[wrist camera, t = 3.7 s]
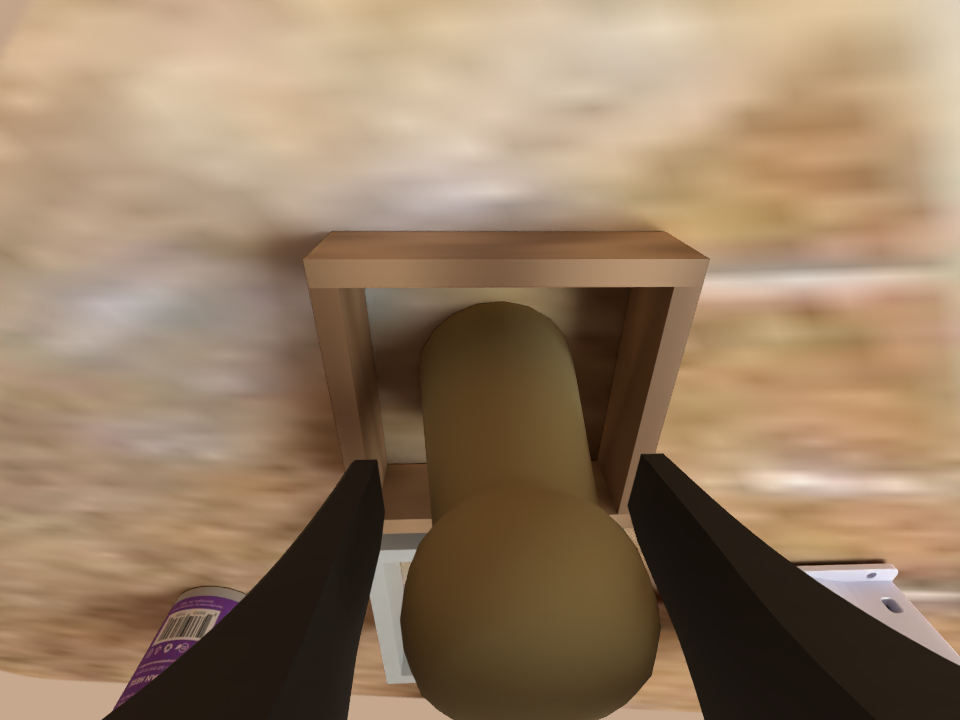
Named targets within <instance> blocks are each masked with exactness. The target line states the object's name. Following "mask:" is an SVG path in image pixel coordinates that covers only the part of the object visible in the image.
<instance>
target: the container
mask: <svg viewBox="0 0 960 720" xmlns="http://www.w3.org/2000/svg"><path fill="white" fill-rule="evenodd" d="M245 596H246V595H245V594H243V593H241V592H238V591H235V590H232V589H228V588H222V587H199V588H195V589H191V590H188V591H186V592H184V593H183V594H182V595H180V596H179V597H178V599H177V600H176V602H175V604H174V606H173V607H172V609H171V610H170V612H169V614H168V616H167V617H166V619H165V621H164V622H163V624H162V626H161V628H160V629H159V631H158V633H157V635H156V636H155V638H154V640H153V642H152V643H151V645H150V647H149V648H148V650H147V652H146V654H145V655H144V657H143V659H142V661H141V662H140V664H139V666H138V667H137V669H136V671H135V673H134V674H133V676H132V678H131V680H130V681H129V683H128V685H127V687H126V688H125V690H124V692H123V694H122V695H121V697H120V699H119V700H118V702H117V704H116V706H115V707H114V709H113V711H114V710H115V709H116V708H117V707H119V706H120V705H121V704H123V703H124V702H125V701H126V700H128V699H129V698H130V697H132V696H133V695H134V694H135V693H137V692H138V691H139V690H141V689H142V688H143V687H144V686H146V685H147V684H148V683H149V682H151V681H152V680H153V679H154V678H156V677H157V676H158V675H159V674H160V673H162V672H163V671H164V670H165V669H166V668H167V667H168V666H170V665H171V664H172V663H173V662H174V661H175V660H177V659H178V658H179V657H180V656H181V655H182V654H184V653H185V652H186V651H187V650H188V649H189V648H190V647H192V646H193V645H194V644H195V643H196V642H197V641H199V640H200V639H201V638H202V637H203V636H204V635H205V634H206V633H208V632H209V631H210V630H211V629H212V628H213V627H214V626H215V625H216V624H217V623H218V622H219V621H220V620H222V619H223V618H224V617H225V616H226V615H227V614H228V613H229V612H230V611H231V610H232V609H233V608H234V607H235V606H236V605H237V604H238V603H239V602H240V601H241V600H242V599H243V598H244V597H245Z"/></svg>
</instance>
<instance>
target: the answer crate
mask: <svg viewBox="0 0 960 720" xmlns="http://www.w3.org/2000/svg"><path fill="white" fill-rule="evenodd" d="M623 530H624V528H623ZM426 534H427V533H399V534H382V542H381V549H380V554H379V558H378V562H377V567H376V571H375V575H374V580H373V584H372V588H371V592H370V600H371V605H372V610H373V615H374V620H375V625H376V630H377V635H378V640H379V645H380V650H381V655H382V660H383V665H384V670H385V675H386V680H387V684H398V683H416V681H415V679H414V677H413V675H412V673H411V670H410V668H409V665H408V662H407V659H406V656H405V653H404V650H403V642H402V634H401V626H400V615H401V607H402V600H403V593H404V588H403V581H402V573H401V565H400V562H412V560H413V557H414V555H415V552H416V550H417V547H418V545H419V543H420V542H421V541H422V539H423V538H424V537H425V535H426Z"/></svg>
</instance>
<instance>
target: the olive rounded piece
mask: <svg viewBox="0 0 960 720" xmlns="http://www.w3.org/2000/svg"><path fill="white" fill-rule="evenodd" d="M419 377H420V389H421V401H422V412H423V424H424V436H425V448H426V459H427V471H428V483H429V494H430V506H431V518H432V528H431V529H430V530H429V532H428V533H427V534H426V535H425V537H424V538H423V539H422V541H421V542H420V543H419V545H418V547H417V550H416V552H415V555H414V557H413V560H412V562H411V565H410V567H409V571H408V575H407V580H406V584H405V588H404V593H403V600H402V607H401V615H400V626H401V634H402V642H403V650H404V653H405V656H406V659H407V662H408V665H409V668H410V670H411V673H412V675H413V677H414V679H415V681H416V684H417V686H418V688H419V690H420V692H421V695H422V696H423V697H424V698H425V699H426V700H428V701H429V702H430V703H431V704H432V705H433V706H434V707H435V708H436V709H438V710H439V711H440V712H442V713H443V714H445V715H447V716H448V717H450V718H451V719H453V720H599V719H601V718H604V717H606V716H608V715H610V714H611V713H613V712H614V711H616V710H617V709H619V708H620V707H622V706H624V705H625V704H626V703H627V702H628V701H629V700H630V699H631V698H632V697H633V696H634V695H635V694H636V693H637V692H638V691H639V690H640V689H641V687H642V686H643V685H644V684H645V683H646V681H647V680H648V679H649V678H650V677H651V675H652V671H653V666H654V662H655V658H656V652H657V647H658V641H659V635H660V630H661V624H660V617H659V610H658V603H657V597H656V594H655V592H654V589H653V586H652V583H651V581H650V578H649V575H648V573H647V571H646V568H645V566H644V563H643V561H642V559H641V556H640V554H639V551H638V549H637V547H636V546H635V544H634V543H633V542H632V540H631V539H630V538H629V536H628V535H627V534H626V532H625V531H624V530H623V528H622V527H621V526H620V525H619V524H618V523H617V522H616V521H615V520H614V519H613V518H612V517H611V516H609V515H608V514H607V513H606V512H605V511H604V510H603V509H602V508H601V507H599V504H598V499H597V493H596V487H595V482H594V476H593V470H592V465H591V459H590V453H589V448H588V442H587V436H586V431H585V425H584V419H583V414H582V408H581V402H580V397H579V391H578V385H577V380H576V374H575V368H574V363H573V357H572V354H571V351H570V348H569V345H568V343H567V340H566V337H565V335H564V334H563V333H562V332H561V331H560V329H559V328H558V327H557V326H556V325H555V324H554V322H553V321H552V320H551V319H550V318H548V317H546V316H545V315H543V314H541V313H539V312H537V311H536V310H534V309H532V308H530V307H528V306H523V305H518V304H513V303H508V302H494V303H484V304H476V305H474V306H472V307H469V308H467V309H464V310H462V311H459V312H457V313H454V314H453V315H452V316H450V317H449V318H448V319H447V320H446V321H444V322H443V323H442V324H441V325H440V326H438V327H437V328H436V329H435V330H434V331H433V333H432V335H431V336H430V338H429V340H428V341H427V343H426V345H425V346H424V348H423V351H422V356H421V361H420V367H419Z"/></svg>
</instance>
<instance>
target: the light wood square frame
mask: <svg viewBox="0 0 960 720" xmlns="http://www.w3.org/2000/svg"><path fill="white" fill-rule="evenodd" d="M709 261H710V259H709V258H708V257H706V256H704V255H703V254H701V253H699V252H698V251H696V250H695V249H693V248H691V247H690V246H688V245H686V244H685V243H683V242H681V241H680V240H678V239H677V238H675V237H673V236H672V235H670V234H668V233H667V232H460V231H332V232H331V233H330V234H329V235H328V236H327V237H326V238H324V239H323V240H322V241H321V242H320V243H319V244H318V245H317V246H316V247H315V248H314V249H313V250H312V251H311V252H310V253H309V254H308V255H307V256H306V257H305V258H304V259H303V263H304V268H305V273H306V278H307V283H308V288H309V293H310V298H311V303H312V308H313V313H314V318H315V323H316V328H317V333H318V339H319V344H320V349H321V354H322V359H323V364H324V369H325V374H326V379H327V384H328V389H329V394H330V399H331V404H332V409H333V414H334V419H335V424H336V429H337V434H338V439H339V444H340V449H341V454H342V459H343V464H344V469H345V472H346V470H347V469H348V467H349V465H350V464H351V463H352V462H353V461H354V460H372V459H377V460H378V467H379V474H380V481H381V487H382V494H383V501H384V508H385V517H384V525H383V534H399V533H428V532H429V530H430V529H431V528H432V518H431V506H430V494H429V483H428V471H427V464H390V465H387V458H386V451H385V443H384V435H383V428H382V420H381V412H380V405H379V397H378V389H377V382H376V374H375V366H374V359H373V351H372V344H371V336H370V328H369V321H368V313H367V305H366V298H365V290H364V288H484V287H631V290H630V295H629V301H628V306H627V311H626V316H625V321H624V326H623V331H622V336H621V341H620V347H619V352H618V357H617V362H616V367H615V372H614V377H613V382H612V387H611V393H610V398H609V403H608V408H607V413H606V418H605V423H604V428H603V433H602V438H601V444H600V449H599V454H598V459H597V461H591V465H592V470H593V476H594V482H595V487H596V493H597V499H598V504H599V507H601V508H602V509H603V510H604V511H605V512H606V513H607V514H608V515H609V516H611V517H612V518H613V519H614V520H615V521H616V522H617V523H618V524H619V525H620V526H621V527H622V528H633V524H632V521H631V517H630V513H629V510H628V506H627V505H628V501H629V498H630V494H631V490H632V486H633V482H634V479H635V475H636V471H637V467H638V463H639V460H640V456H641V454H655V452H656V449H657V445H658V441H659V438H660V434H661V431H662V427H663V424H664V420H665V417H666V413H667V410H668V406H669V403H670V399H671V395H672V392H673V388H674V385H675V381H676V378H677V374H678V371H679V367H680V364H681V360H682V357H683V353H684V349H685V346H686V342H687V339H688V335H689V332H690V328H691V325H692V321H693V318H694V314H695V311H696V307H697V303H698V300H699V296H700V293H701V289H702V286H703V282H704V279H705V275H706V272H707V268H708V265H709Z"/></svg>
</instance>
